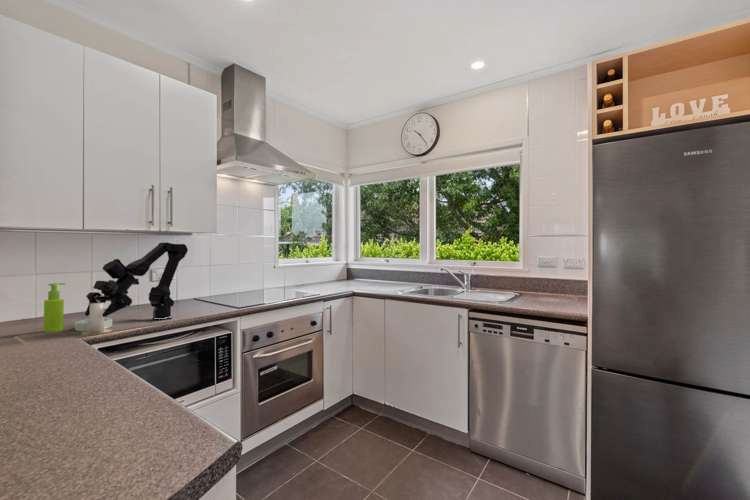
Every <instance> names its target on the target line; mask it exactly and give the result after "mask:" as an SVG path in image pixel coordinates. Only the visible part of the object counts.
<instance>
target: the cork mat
mask: <svg viewBox="0 0 750 500" xmlns="http://www.w3.org/2000/svg"><path fill="white" fill-rule="evenodd" d="M89 331H90V330H89ZM89 331H81V332H80V335H84V336H90V335H91V336H92V335H100V334H107V333H109V332H112V331H113V329H111V328H110V329H109V328H104V331H103V332H99V333H89Z"/></svg>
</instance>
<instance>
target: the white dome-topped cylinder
mask: <svg viewBox="0 0 750 500" xmlns="http://www.w3.org/2000/svg"><path fill="white" fill-rule="evenodd" d="M104 312H105V303H103V302H99V303H90V315H89V319H90V330H89V333H99V332H103V331H104V329H105V328H104V318H105V317H103V316H102V315H103V313H104Z"/></svg>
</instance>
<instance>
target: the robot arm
mask: <svg viewBox="0 0 750 500" xmlns="http://www.w3.org/2000/svg"><path fill="white" fill-rule="evenodd" d="M188 249H189V248H188V246H187V245H186V244H185V243H170V242H164V241H163V242H159V243H158V244H157V245H156V246H155V247H154V248H152V249H151V250H150V251H148V252H147V253H146V254H145V255H143V256H142V257H141V258H140V259H136V260H134V261H132V262H129V263H128V264H127V265H126V266H125V265H124V263H122V261H121V260H120V259H119V258H114V259H113V260H111V261H109V262H107V263H105V264H104V265H103V266H102V270H103V272H105V273H106V274H107V275H108V276H109V277H110V278H112V279H109V280H96V281H95V283H94V285H93V288H92V289H94V290H98V291H100V292H97V291H96V292H93V291H92V292H89V293H87V295H86V296H85V297H86V298H87V300H88V301H89V303H88V306H87V308H86V310H85V313H84V316H86V317H88V316H90V303H99V302H103V303H104V304H106V302H110V304H109V305H108V306H107V308H106V309H104V313H103V315H102V316H103V317H104V318H107V317H108V316H110V315H112V314H113V313H114V314H115V312H118V311H119V310H120V311H121V310H122V309H126V308H127V307H130V306H131V305H132V304H133V299H132V298H131V297H130V296H128V294H129V289H130V288H131V287H132V286H133V285H134V286H135V285H140V282H139V278H136V277H143V276H145V275H146V274H147V272H149V270H150V267H151V265H153V263H154V262H157V260H158V259H159V258H161V257H162V256H163V255H165V253H167V257H168V259H167V262H166V265H165V267H164V270H163V272H162V274H161V276H160V279H159V281H158V284H157V285H156V286H152V287H151V288H150V292H149V293H148V300H149V303H150V306H151V307H152V308H153V307H154V308H153V309H152V319H153V318H165V317H169V316H171V315H172V313H171V310H172V309H171V307H174V305H175V304H174V303H175V301H174V300H173V298H171V290H170V286H171V285H172V281H173V278H174V277H175V274H176V271H177V268H178V266H179V263H180V261H181V260H183V259H184V258H185V257H186V255H187V253H188ZM113 279H114V280H113ZM115 279H116V280H115ZM171 317H172V316H171Z"/></svg>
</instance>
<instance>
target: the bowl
mask: <svg viewBox="0 0 750 500" xmlns="http://www.w3.org/2000/svg"><path fill="white" fill-rule="evenodd" d="M112 325H113V318H110V317H104V329H109V328H111V327H112ZM74 329H75V331H78V332H79V331H80V332H86V331H90V318H89V319H82V320H78V321H75V322H74Z"/></svg>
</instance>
